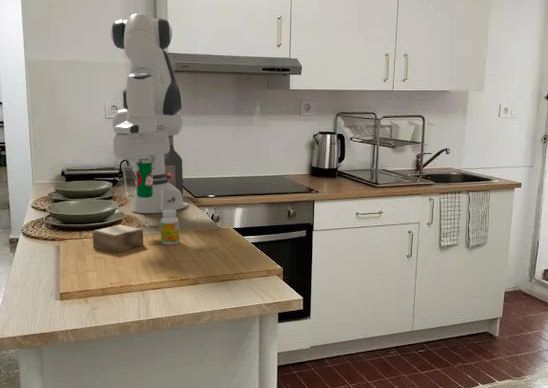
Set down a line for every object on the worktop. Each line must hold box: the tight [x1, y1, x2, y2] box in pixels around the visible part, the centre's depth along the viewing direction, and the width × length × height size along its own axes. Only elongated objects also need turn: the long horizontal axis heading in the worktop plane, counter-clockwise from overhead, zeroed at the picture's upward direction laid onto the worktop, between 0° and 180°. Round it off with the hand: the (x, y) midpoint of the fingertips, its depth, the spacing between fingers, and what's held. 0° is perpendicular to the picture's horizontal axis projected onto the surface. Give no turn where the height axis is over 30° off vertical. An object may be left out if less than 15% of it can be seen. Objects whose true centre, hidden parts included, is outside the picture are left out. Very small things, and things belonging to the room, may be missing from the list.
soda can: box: [136, 158, 153, 198], centre depth 176 cm, size 5×5×12 cm
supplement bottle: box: [160, 209, 180, 245], centre depth 166 cm, size 5×5×10 cm
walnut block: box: [92, 224, 144, 254], centre depth 162 cm, size 10×10×5 cm
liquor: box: [164, 135, 184, 196], centre depth 242 cm, size 9×9×30 cm
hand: (143, 170), depth 175 cm, fingers closed on soda can, 5 cm apart
